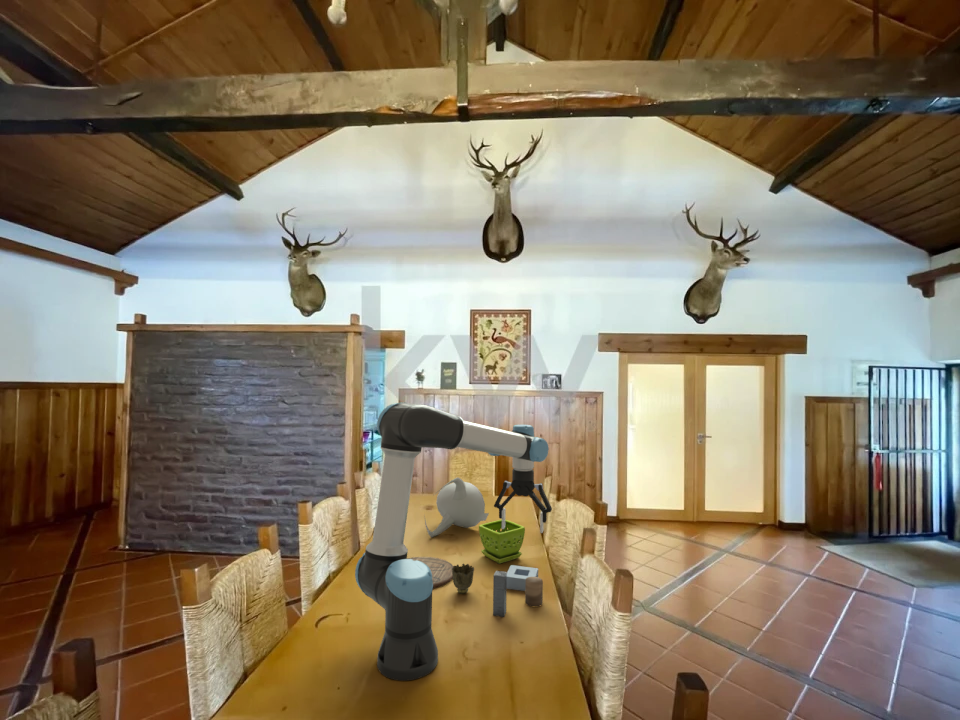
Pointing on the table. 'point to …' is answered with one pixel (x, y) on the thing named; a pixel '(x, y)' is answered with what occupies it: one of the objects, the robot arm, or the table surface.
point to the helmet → (459, 506)
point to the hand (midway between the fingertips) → (522, 529)
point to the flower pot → (501, 540)
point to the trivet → (437, 569)
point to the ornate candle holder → (462, 577)
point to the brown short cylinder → (534, 591)
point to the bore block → (519, 576)
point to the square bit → (499, 593)
